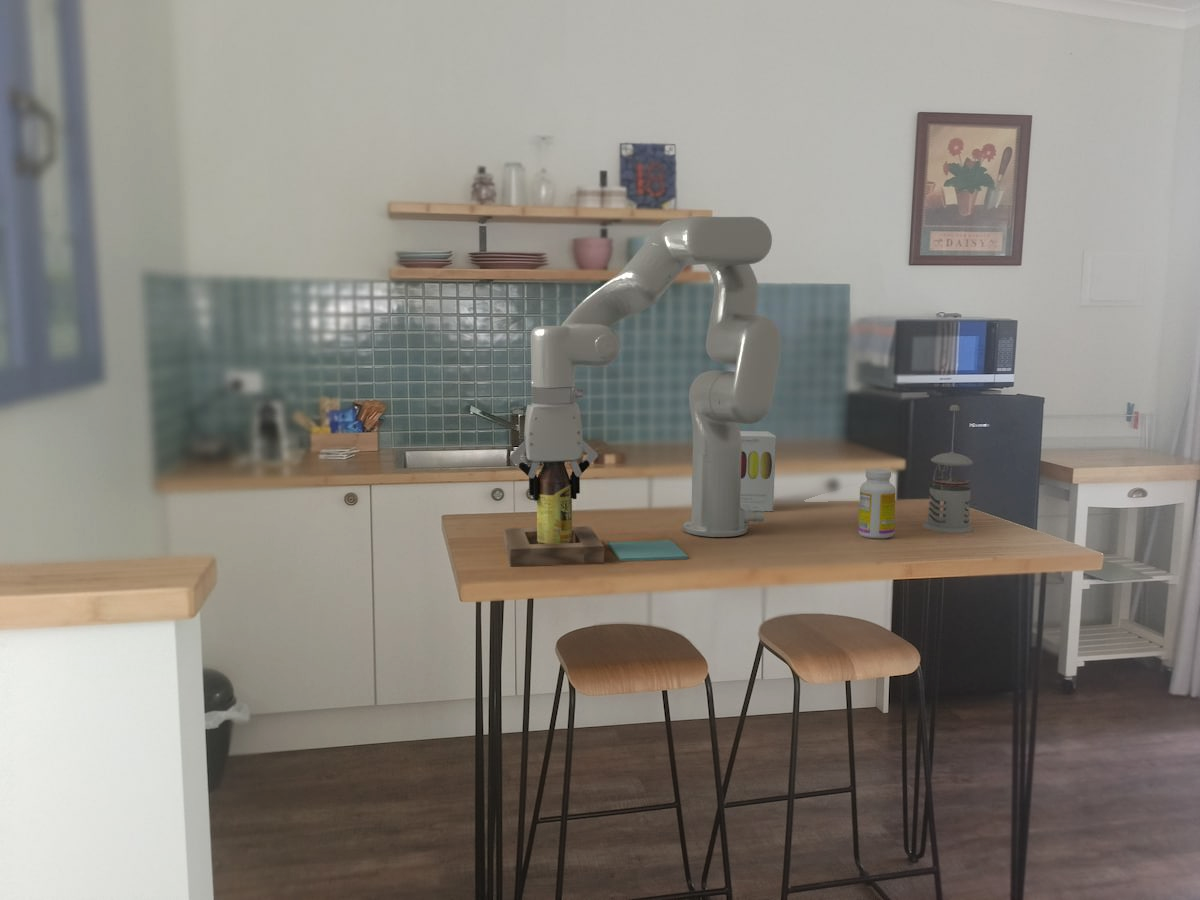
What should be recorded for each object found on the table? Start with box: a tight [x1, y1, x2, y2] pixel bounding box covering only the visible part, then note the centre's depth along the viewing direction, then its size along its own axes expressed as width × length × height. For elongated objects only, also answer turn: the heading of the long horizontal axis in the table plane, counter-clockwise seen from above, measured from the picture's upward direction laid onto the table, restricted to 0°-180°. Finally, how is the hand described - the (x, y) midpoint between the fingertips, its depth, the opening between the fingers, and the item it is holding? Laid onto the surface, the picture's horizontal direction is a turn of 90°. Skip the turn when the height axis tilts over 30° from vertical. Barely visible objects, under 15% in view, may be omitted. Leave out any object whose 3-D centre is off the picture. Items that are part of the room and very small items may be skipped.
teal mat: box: [607, 540, 689, 562], centre depth 176 cm, size 12×12×1 cm
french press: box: [922, 404, 974, 534], centre depth 198 cm, size 10×12×25 cm
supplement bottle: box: [858, 468, 896, 540], centre depth 190 cm, size 7×7×13 cm
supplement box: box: [740, 430, 777, 513], centre depth 216 cm, size 10×9×17 cm
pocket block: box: [503, 525, 605, 567], centre depth 174 cm, size 16×16×3 cm
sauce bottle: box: [536, 462, 573, 544], centre depth 173 cm, size 6×6×20 cm
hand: (554, 497), depth 173 cm, fingers closed on sauce bottle, 6 cm apart
